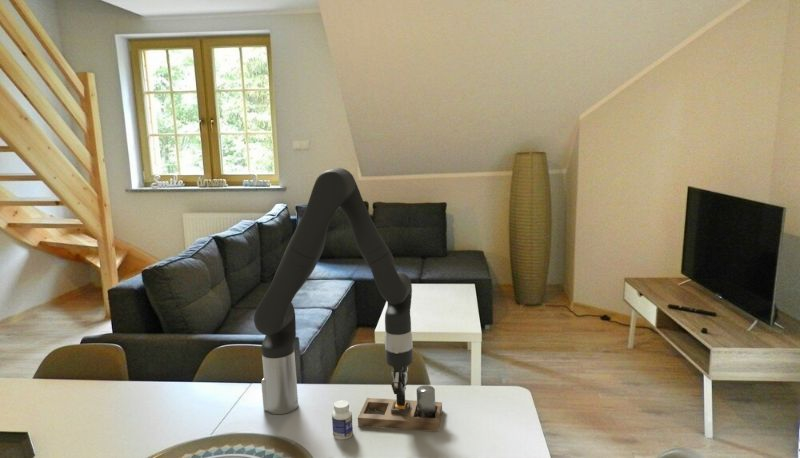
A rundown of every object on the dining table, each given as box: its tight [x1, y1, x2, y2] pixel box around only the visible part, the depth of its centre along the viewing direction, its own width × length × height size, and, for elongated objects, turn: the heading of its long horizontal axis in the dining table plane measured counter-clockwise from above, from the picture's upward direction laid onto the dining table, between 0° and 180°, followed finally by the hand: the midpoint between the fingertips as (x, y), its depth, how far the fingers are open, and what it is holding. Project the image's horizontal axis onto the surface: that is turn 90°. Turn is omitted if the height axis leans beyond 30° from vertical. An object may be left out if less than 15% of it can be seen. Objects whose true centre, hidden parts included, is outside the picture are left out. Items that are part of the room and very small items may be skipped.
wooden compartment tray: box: [357, 397, 443, 432], centre depth 150 cm, size 22×11×4 cm, turn 80°
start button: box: [395, 402, 406, 409], centre depth 150 cm, size 3×3×1 cm
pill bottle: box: [331, 399, 354, 441], centre depth 142 cm, size 5×5×9 cm
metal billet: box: [416, 384, 436, 418], centre depth 148 cm, size 5×5×9 cm
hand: (401, 404), depth 150 cm, fingers closed
